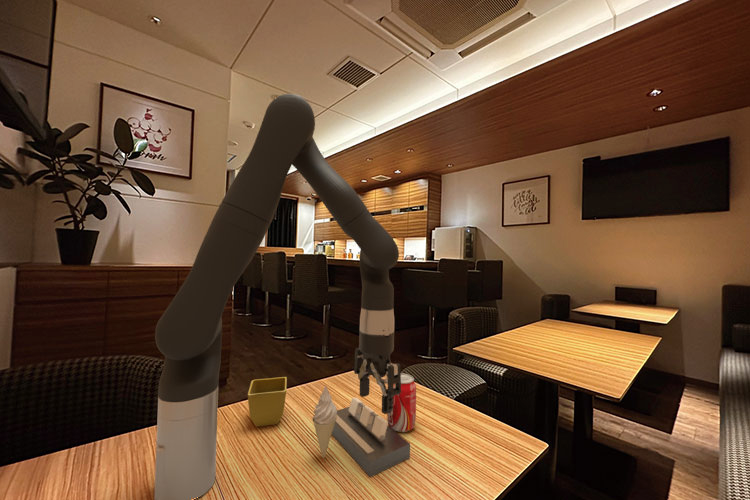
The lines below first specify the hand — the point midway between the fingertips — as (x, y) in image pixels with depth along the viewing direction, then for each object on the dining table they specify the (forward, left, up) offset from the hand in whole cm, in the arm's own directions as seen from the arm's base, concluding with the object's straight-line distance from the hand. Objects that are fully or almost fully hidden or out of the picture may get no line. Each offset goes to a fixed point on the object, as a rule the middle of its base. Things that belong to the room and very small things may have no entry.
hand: (375, 403), depth 65 cm
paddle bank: (0, +4, -7) cm, 8 cm away
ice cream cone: (-10, +4, -10) cm, 15 cm away
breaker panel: (0, +4, -10) cm, 11 cm away
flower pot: (-16, +24, -10) cm, 31 cm away
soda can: (+11, +4, -10) cm, 16 cm away
